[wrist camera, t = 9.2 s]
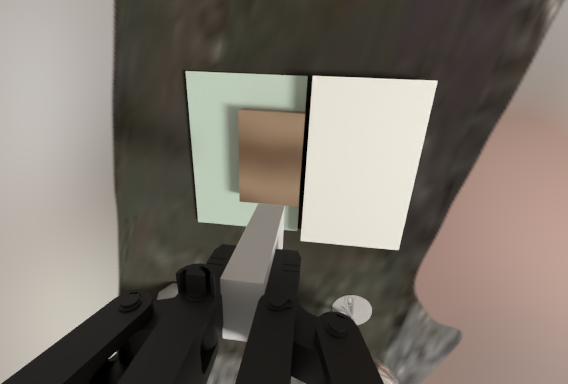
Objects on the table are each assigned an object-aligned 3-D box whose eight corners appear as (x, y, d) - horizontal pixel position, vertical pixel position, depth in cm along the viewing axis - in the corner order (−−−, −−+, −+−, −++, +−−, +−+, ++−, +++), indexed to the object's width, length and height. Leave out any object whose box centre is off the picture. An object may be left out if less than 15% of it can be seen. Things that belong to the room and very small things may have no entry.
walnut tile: (299, 199, 29) (298, 206, 27) (244, 194, 30) (239, 201, 28) (305, 111, 26) (304, 113, 24) (243, 108, 26) (238, 109, 25)
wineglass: (389, 319, 34) (423, 431, 23) (342, 337, 36) (352, 448, 25) (362, 280, 33) (385, 381, 22) (314, 302, 35) (312, 404, 24)
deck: (392, 237, 30) (398, 250, 28) (301, 229, 31) (300, 240, 29) (426, 81, 24) (437, 80, 22) (313, 76, 25) (312, 75, 23)
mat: (297, 228, 31) (297, 230, 31) (199, 219, 32) (198, 221, 32) (307, 76, 25) (307, 76, 25) (187, 71, 26) (185, 70, 26)
